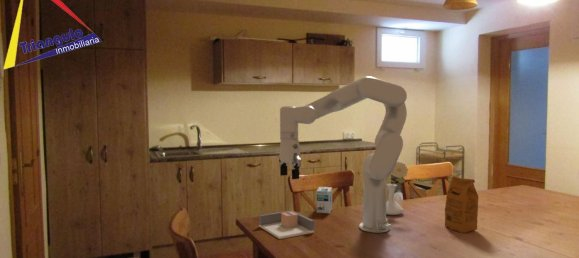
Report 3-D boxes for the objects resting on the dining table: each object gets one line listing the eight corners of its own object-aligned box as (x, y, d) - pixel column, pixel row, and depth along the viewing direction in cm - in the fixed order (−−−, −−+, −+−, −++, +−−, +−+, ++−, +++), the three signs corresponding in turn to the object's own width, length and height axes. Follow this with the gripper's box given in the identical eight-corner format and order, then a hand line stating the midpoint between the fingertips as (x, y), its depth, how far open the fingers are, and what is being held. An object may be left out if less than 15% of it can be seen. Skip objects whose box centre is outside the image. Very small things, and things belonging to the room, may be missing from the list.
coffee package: (459, 223, 177) (460, 173, 175) (481, 232, 165) (482, 178, 163) (440, 225, 173) (441, 175, 172) (461, 234, 162) (462, 180, 160)
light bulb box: (330, 213, 192) (330, 191, 191) (316, 213, 193) (316, 190, 193) (332, 208, 202) (332, 186, 202) (318, 207, 204) (319, 186, 203)
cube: (286, 227, 166) (286, 215, 166) (281, 224, 171) (281, 212, 170) (297, 226, 169) (297, 214, 168) (291, 223, 173) (291, 211, 173)
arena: (314, 232, 164) (314, 220, 164) (279, 239, 156) (279, 226, 156) (291, 221, 180) (291, 210, 179) (259, 226, 172) (259, 215, 171)
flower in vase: (377, 215, 189) (377, 162, 188) (381, 209, 200) (381, 159, 198) (405, 218, 184) (406, 164, 183) (408, 212, 195) (409, 160, 193)
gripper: (308, 137, 162) (308, 179, 163) (286, 134, 177) (287, 173, 178) (291, 138, 158) (292, 181, 159) (271, 135, 173) (272, 174, 174)
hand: (289, 177), depth 168 cm, fingers open, 9 cm apart
